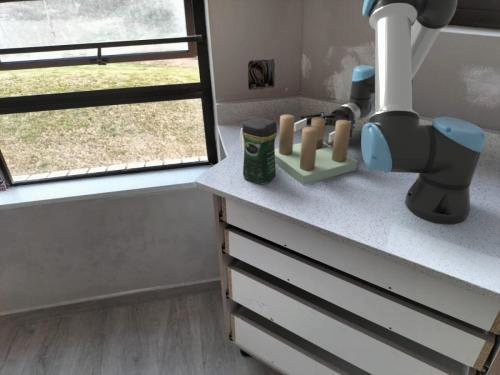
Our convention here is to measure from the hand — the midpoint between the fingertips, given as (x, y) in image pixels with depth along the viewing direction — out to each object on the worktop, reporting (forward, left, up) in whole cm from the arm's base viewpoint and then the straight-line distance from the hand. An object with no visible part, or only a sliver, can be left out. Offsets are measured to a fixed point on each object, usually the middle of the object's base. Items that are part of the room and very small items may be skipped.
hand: (311, 132), depth 119 cm
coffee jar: (-5, +22, -9) cm, 24 cm away
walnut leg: (+1, -3, -8) cm, 9 cm away
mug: (+5, +20, -9) cm, 22 cm away
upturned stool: (-5, +3, -8) cm, 10 cm away
